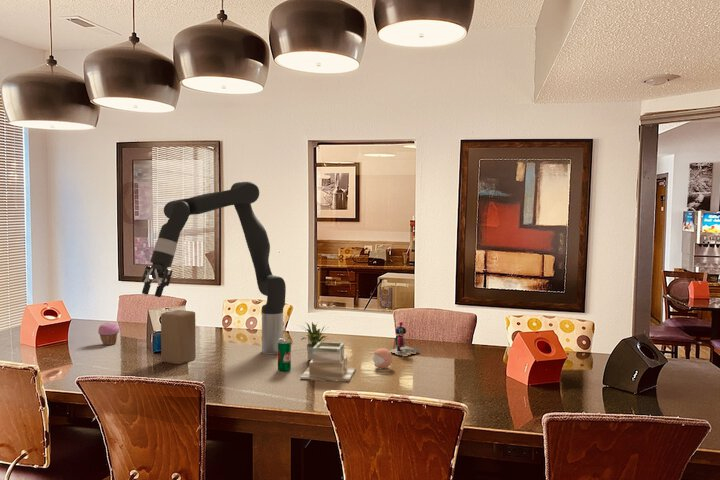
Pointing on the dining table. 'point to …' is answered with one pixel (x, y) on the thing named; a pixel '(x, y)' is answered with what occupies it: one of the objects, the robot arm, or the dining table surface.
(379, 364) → the toy ball
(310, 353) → the house plant
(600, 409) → the dining table surface
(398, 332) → the statue
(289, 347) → the soda can
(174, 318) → the block
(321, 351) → the tower base
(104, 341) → the cupcake
